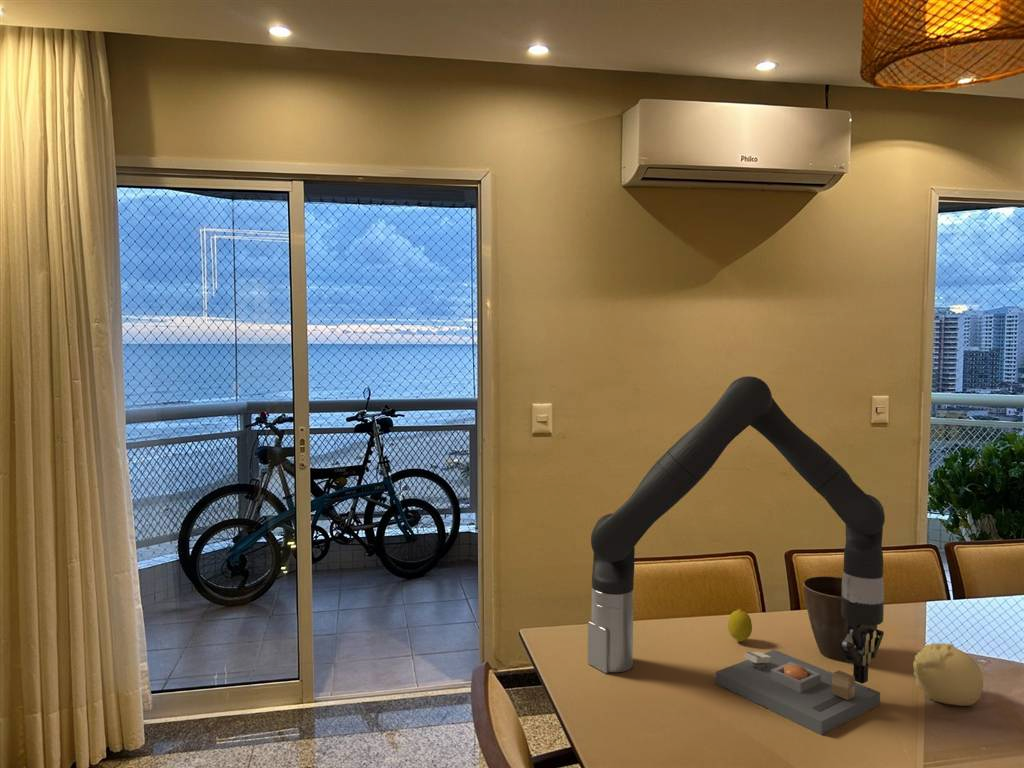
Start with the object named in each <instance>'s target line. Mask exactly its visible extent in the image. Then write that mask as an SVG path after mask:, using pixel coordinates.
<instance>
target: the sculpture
mask: <svg viewBox="0 0 1024 768" xmlns="http://www.w3.org/2000/svg"><path fill="white" fill-rule="evenodd" d="M912 664H913V665H912V667H913V675H914V676H915V681H916V684H917V687H918V688H919V689H920V690H921V691H922V692H923V693H924V695H925V696H927V698H929V699H930V700H932V701H934V702H936V703H937V702H938V703H942V704H946V705H952V706H962V707H964V706H967V707H968V706H972V705H974V704H975V703H976V702H977V701H979V699H980V697H981V695H982V693H983V690H984V689H983V687H984V677H983V672H982V670H981V668H980V666H979V665H978V663H977V662H976V660H975V659H974V658H973V657H972V656H971V655H970V654H968V653H966V652H965V651H963V650H961V649H958V648H956V646H954V644H952V643H932V642H931V643H930V644H925V645H924V647H923V648H922V649H921V650H920V651H918V652H917V654H916V655H914V661H913V663H912Z"/></svg>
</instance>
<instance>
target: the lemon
mask: <svg viewBox="0 0 1024 768" xmlns="http://www.w3.org/2000/svg"><path fill="white" fill-rule="evenodd" d="M727 629H728V632H729V635H730V636H731V637H732V638H733V639H735V640H736V641H737V643H742V642H743V641H745V640H747V639H749V638H750V636H751V634H752V630H753V623H752V619H751V617H750V615H749V614H748V613H747V612H746V611H744V610H742V609H741V608H738V609H736V610H734V611H733V612H731V614H730V615H729V617H728V621H727Z"/></svg>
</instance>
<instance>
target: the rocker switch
mask: <svg viewBox="0 0 1024 768" xmlns="http://www.w3.org/2000/svg"><path fill="white" fill-rule="evenodd" d="M744 659H745V660H750V661H752V662H754V663H771V657H770V656H768V655H766V654H764V653H763V652H761V651H752V652H751V651H746V652H745V653H744Z"/></svg>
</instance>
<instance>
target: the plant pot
mask: <svg viewBox="0 0 1024 768" xmlns="http://www.w3.org/2000/svg"><path fill="white" fill-rule="evenodd" d="M842 578H843V577H837V576H813V577H809V578H805V579H804V581H803V582H802V585H803V592H804V593H803V594H804V599H805V604H806V611H807V615H808V618H809V619H808V620H809V624H810V626H811V630H812V633H813V636H814V640H815V643H816V645H817V648H818V652H819V653H820V654H821V655H822V656H823V657H825V658H828V659H831V660H833V659H834V660H835V661H839V660H840V662H848V661H847V660H846V658H845V656H844V654H843V652H842V650H841V648H840V646H839V644H838V642H839V640H840V639H841V640H845V638H846V636H847V634H846V628H847V624H848V623H847V621H846V620H845V619H844V618H843V617H842V615H841V598H842Z"/></svg>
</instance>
